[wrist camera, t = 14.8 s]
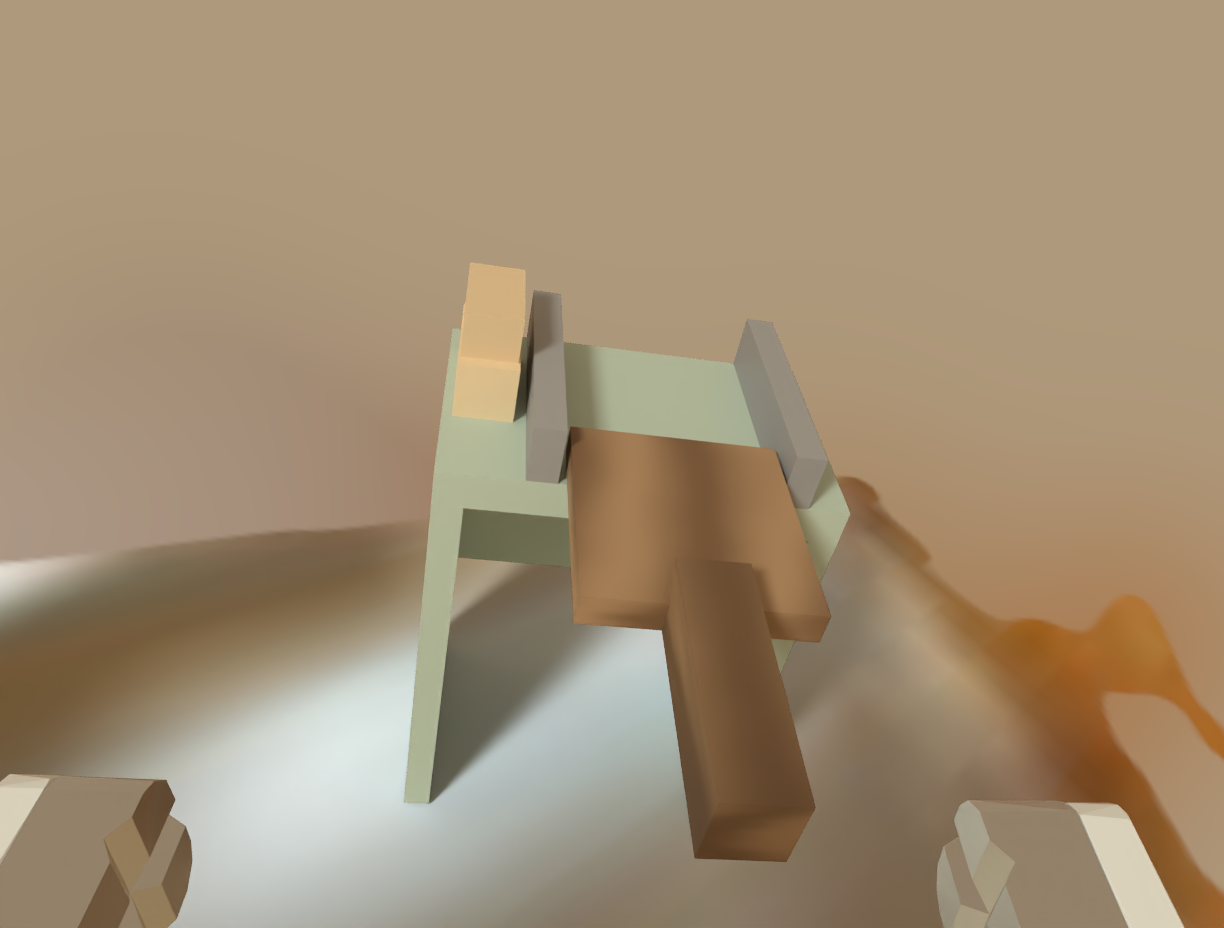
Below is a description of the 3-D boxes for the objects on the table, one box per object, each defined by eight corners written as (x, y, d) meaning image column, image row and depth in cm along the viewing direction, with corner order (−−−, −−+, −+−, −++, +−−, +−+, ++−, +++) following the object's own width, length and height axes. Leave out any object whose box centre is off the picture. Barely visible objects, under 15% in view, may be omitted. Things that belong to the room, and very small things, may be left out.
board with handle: (584, 854, 29) (601, 797, 27) (565, 451, 45) (575, 399, 43) (889, 865, 31) (924, 812, 29) (766, 473, 47) (783, 424, 45)
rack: (404, 802, 58) (443, 370, 40) (423, 641, 69) (461, 238, 50) (717, 816, 62) (889, 423, 43) (691, 661, 72) (820, 289, 53)
